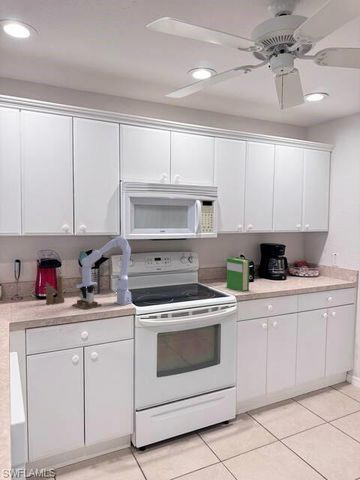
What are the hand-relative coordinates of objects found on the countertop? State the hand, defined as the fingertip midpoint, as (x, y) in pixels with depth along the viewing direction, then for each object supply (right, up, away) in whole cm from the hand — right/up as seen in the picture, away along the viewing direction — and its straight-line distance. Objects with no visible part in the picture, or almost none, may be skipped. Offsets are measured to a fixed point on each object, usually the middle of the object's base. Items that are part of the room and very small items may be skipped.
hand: (87, 297), depth 222 cm
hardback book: (+105, -2, +54) cm, 118 cm away
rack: (0, -5, 0) cm, 5 cm away
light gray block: (0, -2, 0) cm, 2 cm away
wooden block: (-22, -5, +6) cm, 24 cm away
